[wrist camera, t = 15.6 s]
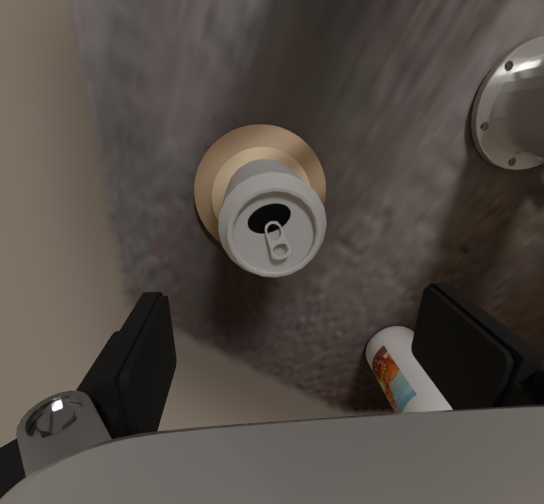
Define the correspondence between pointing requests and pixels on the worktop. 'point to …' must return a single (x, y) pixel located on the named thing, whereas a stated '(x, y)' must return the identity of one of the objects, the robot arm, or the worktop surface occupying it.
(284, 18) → the worktop surface
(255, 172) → the can
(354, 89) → the worktop surface
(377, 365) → the milk bottle
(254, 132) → the plinth
